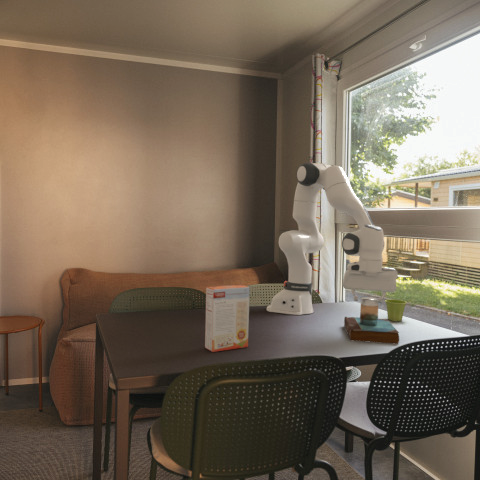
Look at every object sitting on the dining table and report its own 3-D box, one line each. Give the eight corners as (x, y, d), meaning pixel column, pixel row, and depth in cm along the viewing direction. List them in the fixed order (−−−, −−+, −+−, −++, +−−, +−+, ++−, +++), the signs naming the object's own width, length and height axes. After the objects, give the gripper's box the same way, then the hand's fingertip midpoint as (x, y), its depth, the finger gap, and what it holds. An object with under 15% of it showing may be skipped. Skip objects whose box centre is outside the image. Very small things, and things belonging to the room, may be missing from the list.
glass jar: (360, 325, 174) (361, 299, 174) (359, 321, 181) (360, 296, 180) (378, 326, 173) (379, 301, 173) (376, 322, 180) (377, 298, 179)
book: (343, 328, 190) (344, 316, 189) (387, 331, 187) (387, 319, 187) (350, 342, 167) (350, 329, 167) (399, 346, 165) (399, 332, 165)
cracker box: (239, 343, 158) (241, 284, 157) (248, 347, 153) (250, 286, 152) (203, 347, 151) (205, 285, 150) (211, 352, 146) (214, 288, 145)
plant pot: (407, 323, 200) (408, 303, 200) (385, 321, 202) (386, 302, 202) (404, 318, 209) (405, 300, 209) (382, 317, 211) (383, 298, 211)
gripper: (396, 267, 177) (394, 302, 178) (343, 264, 181) (341, 298, 182) (399, 269, 171) (396, 305, 172) (344, 265, 175) (342, 300, 176)
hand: (367, 301), depth 177 cm, fingers open, 8 cm apart
